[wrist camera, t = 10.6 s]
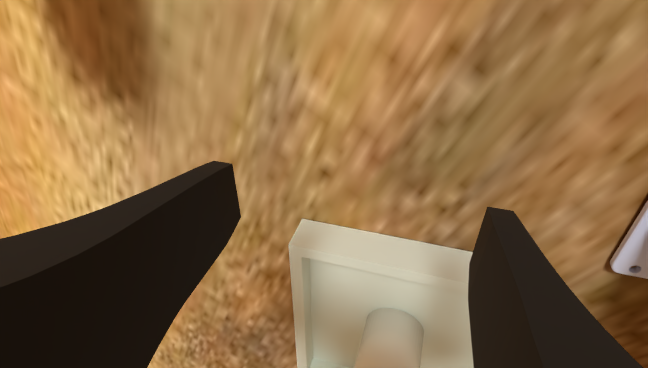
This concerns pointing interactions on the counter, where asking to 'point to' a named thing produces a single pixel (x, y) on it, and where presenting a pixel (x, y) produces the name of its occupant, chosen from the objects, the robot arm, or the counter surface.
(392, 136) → the counter surface
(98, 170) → the counter surface
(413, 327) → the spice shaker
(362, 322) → the tray
